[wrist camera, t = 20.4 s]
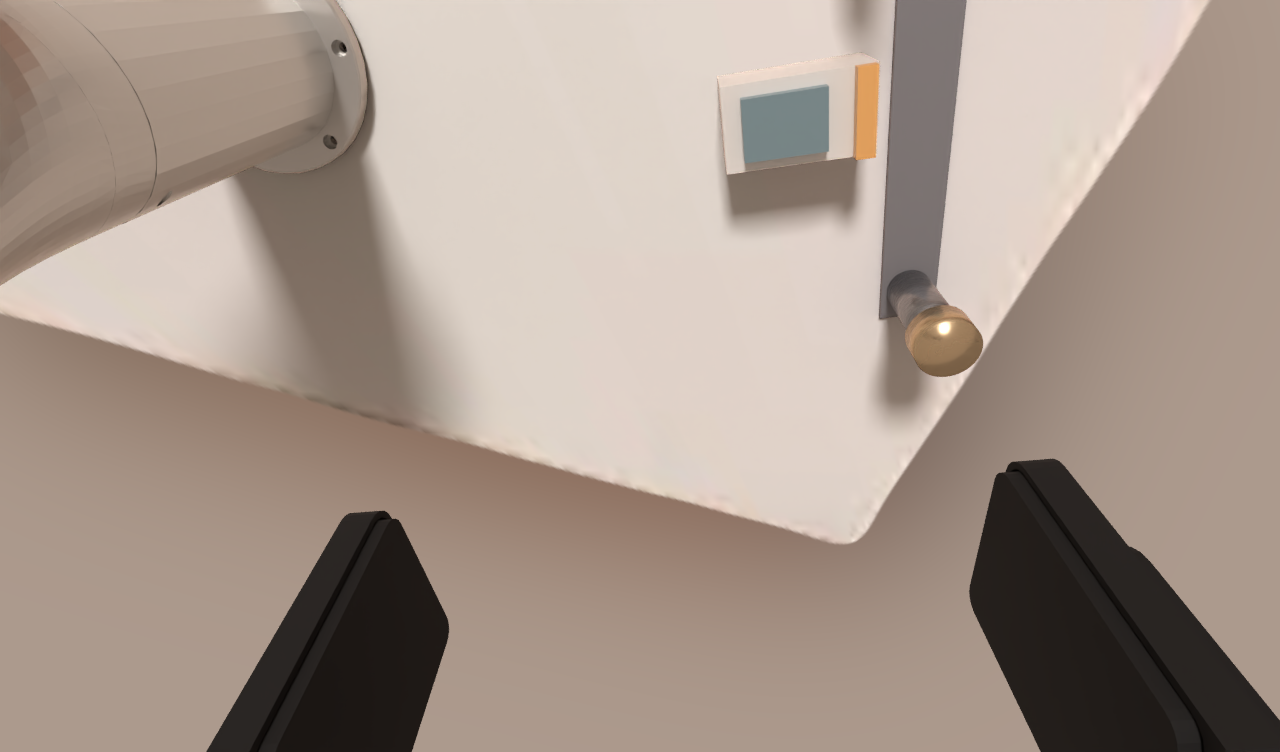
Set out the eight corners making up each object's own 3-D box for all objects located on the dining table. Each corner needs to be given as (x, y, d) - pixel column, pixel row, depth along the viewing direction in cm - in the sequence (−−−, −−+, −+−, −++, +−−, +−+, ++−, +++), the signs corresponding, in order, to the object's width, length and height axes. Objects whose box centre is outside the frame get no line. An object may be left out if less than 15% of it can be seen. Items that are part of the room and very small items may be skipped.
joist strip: (879, 316, 43) (880, 318, 43) (902, -117, 31) (903, -118, 30) (932, 310, 43) (933, 313, 42) (978, -132, 30) (980, -133, 30)
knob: (879, 316, 43) (912, 379, 36) (881, 267, 41) (917, 325, 34) (934, 310, 42) (978, 373, 36) (939, 261, 40) (987, 318, 34)
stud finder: (723, 155, 38) (727, 178, 34) (716, 75, 36) (719, 89, 32) (858, 135, 37) (879, 156, 33) (860, 52, 35) (883, 63, 30)
